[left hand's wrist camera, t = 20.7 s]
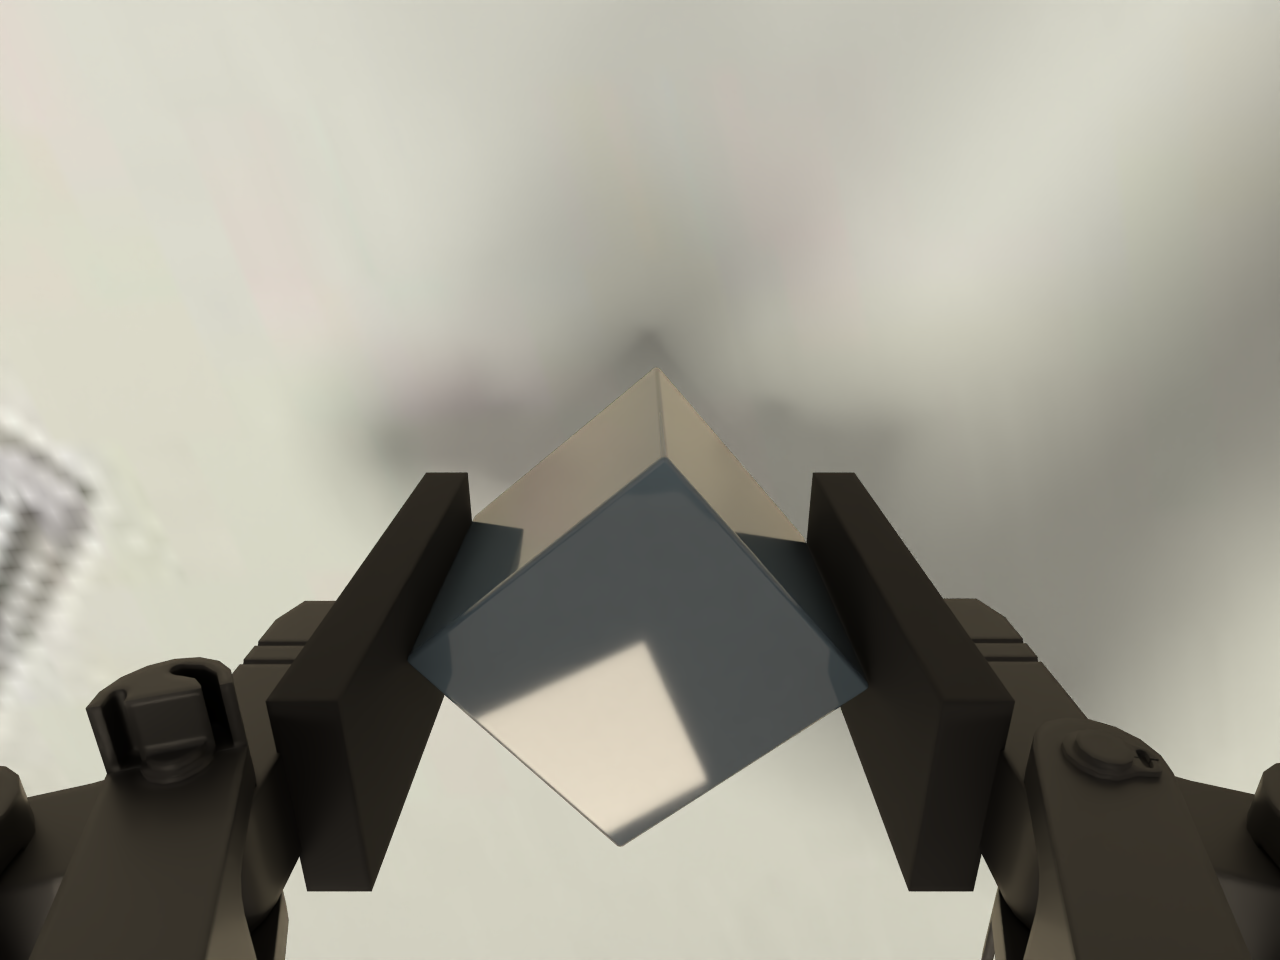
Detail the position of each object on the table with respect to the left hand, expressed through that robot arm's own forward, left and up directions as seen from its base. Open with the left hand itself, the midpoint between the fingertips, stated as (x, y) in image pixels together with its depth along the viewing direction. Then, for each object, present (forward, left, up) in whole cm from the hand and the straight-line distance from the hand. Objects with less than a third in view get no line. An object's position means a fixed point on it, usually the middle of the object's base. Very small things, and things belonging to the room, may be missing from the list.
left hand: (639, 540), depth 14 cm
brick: (0, 0, 0) cm, 0 cm away
